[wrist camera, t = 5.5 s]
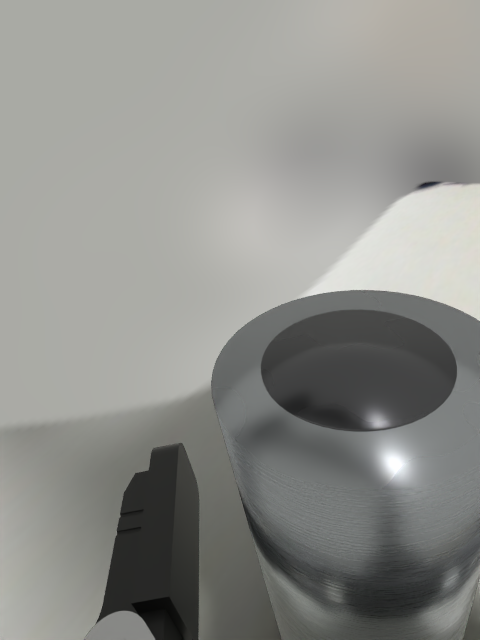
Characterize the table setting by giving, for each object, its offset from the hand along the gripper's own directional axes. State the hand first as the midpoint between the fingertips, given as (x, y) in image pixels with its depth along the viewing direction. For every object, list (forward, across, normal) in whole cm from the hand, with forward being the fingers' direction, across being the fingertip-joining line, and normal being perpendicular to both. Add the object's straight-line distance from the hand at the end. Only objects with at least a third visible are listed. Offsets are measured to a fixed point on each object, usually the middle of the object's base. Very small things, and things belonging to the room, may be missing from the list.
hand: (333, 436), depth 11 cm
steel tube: (-2, 0, +6) cm, 6 cm away
